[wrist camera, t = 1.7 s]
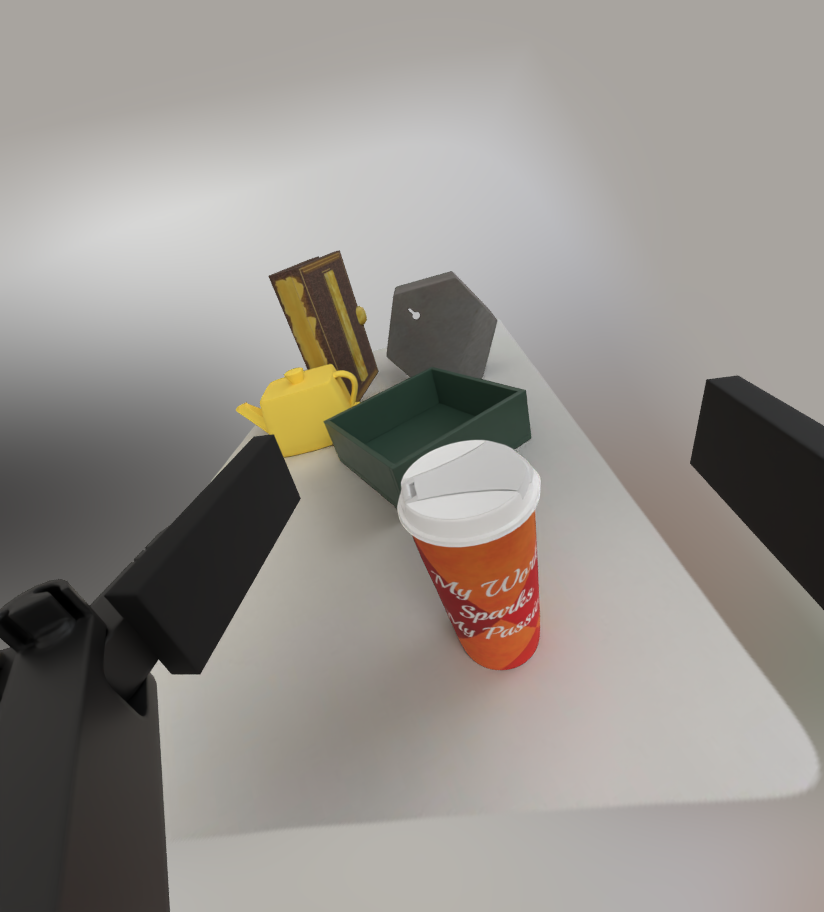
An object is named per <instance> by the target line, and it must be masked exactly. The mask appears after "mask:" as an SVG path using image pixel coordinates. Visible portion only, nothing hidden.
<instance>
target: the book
mask: <svg viewBox="0 0 824 912" xmlns="http://www.w3.org/2000/svg"><path fill="white" fill-rule="evenodd" d="M269 278H270V281H271V283H272V286H273V288H274V290H275V293H276V295H277V298H278V300H279V302H280V305H281V307H282V309H283V312H284V314H285V316H286V319H287V321H288V324H289V326H290V328H291V331H292V333H293V336H294V338H295V340H296V343H297V345H298V348H299V350H300V352H301V354H302V357H303V360H304V362H305V364H306V367H307V369H308V370H310V369H313V368H317V367H320V366H324V365H329V364H332V365H333V366H334V367H335V369H336V371H340V370H343V371H348V372H350V373H352V374H353V375H354V376H355V377H356V379H357V383H358V390H357V396H356V401H355V402H359V401H360V400H361V398H362V396H363V395H364V393H365V392H366V390H367V389H368V387H369V385H370V384H371V382H372V381H373V379H374V378H375V376H376V374H377V373H378V369H377V365H376V362H375V359H374V356H373V353H372V350H371V347H370V344H369V341H368V337H367V334H366V331H365V328H364V325H363V324H365V322H366V320H367V319H366V318H367V317H366V313H365V311H364V309H363V308H362V307H360V306H357V303H356V300H355V297H354V294H353V291H352V288H351V285H350V281H349V278H348V275H347V272H346V269H345V266H344V263H343V259H342V257H341V253H340V251H336V252H332V253H330V254H327V255H325V256H322V257H320V258H319V257H315V258H312V259H309V260H307V261H304V262H302V263H299V264H297V265H294V266H292V267H290V268H287V269H284V270H282V271H280V272H277V273H275V274H272V275H269ZM341 379H342V380H343V382H344V384H345V386H346V388H347V390H348V392H349V394H350V396H351V392H352V383H351V381H350V379H348V378H345V377H341Z"/></svg>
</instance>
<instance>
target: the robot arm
mask: <svg viewBox="0 0 824 912" xmlns="http://www.w3.org/2000/svg"><path fill="white" fill-rule="evenodd" d="M690 464H691V465H692V466H693V467H694V468H695V469H696V470H697V471H698V472H699V474H700V475H701V476H702V477H703V478H704V479H705V480H706V481H707V482H708V484H709V485H710V486H711V487H712V488H713V489H714V490H715V491H716V492H717V493H718V495H719V496H720V497H721V498H722V499H723V500H724V501H725V502H726V503H727V504H728V505H729V507H730V508H731V509H732V510H733V511H734V512H735V513H736V514H737V515H738V517H739V518H741V520H742V521H743V522H744V523H745V524H746V525H747V526H748V527H749V529H750V530H751V531H752V532H753V533H754V534H755V535H756V536H757V537H758V538H759V539H760V541H761V542H762V543H763V544H764V545H765V546H766V547H767V548H768V549H769V551H770V552H771V553H772V554H773V555H774V556H775V557H776V558H777V559H778V560H779V561H780V563H781V564H782V565H783V566H784V567H785V568H786V569H787V570H788V571H789V572H790V573H791V575H792V576H793V577H794V578H795V579H796V580H797V581H798V582H799V583H800V584H801V586H803V588H804V589H805V590H806V591H807V592H808V593H809V594H810V595H811V597H812V598H813V599H814V600H815V601H816V602H817V603H818V604H819V605H820V606H821V607H822V609H823V610H824V426H823V425H821V424H820V423H818V422H816V421H815V420H813V419H811V418H810V417H808V416H806V415H804V414H803V413H801V412H799V411H798V410H796V409H794V408H793V407H791V406H789V405H787V404H786V403H784V402H782V401H781V400H779V399H777V398H775V397H774V396H772V395H770V394H769V393H767V392H765V391H763V390H761V389H760V388H758V387H757V386H755V385H753V384H752V383H750V382H748V381H746V380H745V379H743V378H741V377H740V376H731V377H723V378H715V379H707V380H706V385H705V390H704V395H703V400H702V405H701V410H700V415H699V420H698V426H697V431H696V436H695V441H694V446H693V451H692V456H691V461H690ZM300 499H301V498H300V496H299V493H298V491H297V489H296V486H295V484H294V481H293V479H292V476H291V474H290V472H289V469H288V467H287V464H286V462H285V460H284V457H283V455H282V452H281V450H280V448H279V445H278V443H277V440H276V438H275V436H274V434H272V435H264V436H256V437H253V438H252V439H251V440H250V441H249V442H248V443H247V444H246V446H245V447H244V448H243V449H242V450H241V451H240V452H239V453H238V454H237V455H236V456H235V457H234V458H233V459H232V460H231V461H230V463H229V464H228V465H227V466H226V467H225V468H224V469H223V470H222V471H221V472H220V473H219V474H218V475H217V476H216V477H215V478H214V479H213V481H212V482H211V483H210V484H209V485H208V486H207V487H206V488H205V489H204V490H203V491H202V492H201V493H200V494H199V496H197V498H196V499H195V500H194V501H193V502H192V503H191V504H190V505H189V506H188V507H187V508H186V509H185V510H184V511H183V512H182V514H181V515H180V516H179V517H178V518H177V519H176V520H175V521H174V522H173V523H172V524H171V525H170V526H168V527H167V528H166V529H164V530H163V531H162V532H160V533H159V534H158V535H157V536H156V537H155V538H154V539H153V540H152V541H151V542H150V543H149V544H148V545H147V546H146V549H145V550H143V551H142V552H141V553H140V554H139V555H138V556H137V557H136V558H135V559H134V562H131V563H130V564H129V565H128V566H127V567H126V568H125V569H124V570H123V571H122V572H121V574H120V575H119V576H118V577H117V578H116V579H115V580H114V581H113V582H112V583H111V584H110V585H109V586H108V587H107V588H106V589H105V590H104V592H102V594H100V595H99V597H98V598H97V599H96V600H95V601H94V602H93V603H92V604H91V605H90V606H89V605H88V604H87V603H86V602H85V600H84V599H83V598H82V597H81V596H80V595H79V594H78V593H77V592H76V591H75V589H74V588H73V587H72V586H71V585H70V584H69V583H68V582H67V581H65V580H62V579H58V580H51V581H47V582H45V583H42V584H40V585H37V586H34V587H33V588H31V589H29V590H27V591H25V592H23V593H21V594H20V595H18V596H17V597H15V598H14V599H13V600H11V601H10V602H8V603H7V604H5V605H4V606H3V607H2V608H1V609H0V638H1V639H2V640H3V641H4V642H6V643H7V644H8V645H9V646H10V648H7V649H3V650H0V912H170V906H169V888H168V871H167V853H166V836H165V819H164V802H163V785H162V767H161V750H160V733H159V716H158V699H157V683H156V681H155V678H154V676H153V675H152V674H151V673H150V671H151V670H152V668H153V667H154V665H155V664H156V662H157V661H158V659H159V660H160V661H161V663H162V664H163V665H164V666H165V667H166V668H167V669H168V671H169V672H170V673H171V674H201V672H202V670H203V668H204V667H205V665H206V663H207V662H208V660H209V658H210V656H211V655H212V653H213V651H214V649H215V648H216V646H217V644H218V642H219V641H220V639H221V637H222V635H223V634H224V632H225V630H226V628H227V627H228V625H229V623H230V621H231V620H232V618H233V616H234V614H235V613H236V611H237V609H238V607H239V606H240V604H241V602H242V600H243V599H244V597H245V595H246V593H247V592H248V590H249V588H250V586H251V585H252V583H253V581H254V579H255V578H256V576H257V574H258V572H259V571H260V569H261V567H262V565H263V564H264V562H265V560H266V558H267V557H268V555H269V553H270V551H271V550H272V548H273V546H274V544H275V543H276V541H277V539H278V537H279V536H280V534H281V532H282V530H283V529H284V527H285V525H286V523H287V522H288V520H289V518H290V516H291V515H292V513H293V511H294V509H295V508H296V506H297V504H298V502H299V501H300Z"/></svg>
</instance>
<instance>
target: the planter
mask: <svg viewBox="0 0 824 912" xmlns="http://www.w3.org/2000/svg"><path fill="white" fill-rule="evenodd" d="M409 308H410V309H412V310H413V311H414V312H419V313H420V317H419V319H417V320H416V319H413V317H412V315H413V314H412V313H411V312H409V310H408V309H409ZM496 324H497V319H496V318H495V316H494V315H493V314H492V313H491V311H490V310H489V309H488V308H487V307H486V306H485V305H484V304H483V303H482V302H481V301H480V300H479V298H478V297H477V296H476V295H475V294H474V293H473V292H472V291H471V290H470V289H469V288H468V287H467V286H466V285H465V284H464V283H463V282H462V281H461V280H460V279H459V278H458V277H457V276H456V275H455V274H454V273H453V272H452V271H450V272H447V273H443V274H440V275H436V276H433V277H429V278H426V279H422V280H419V281H415V282H412V283H408V284H404V285H401V286H398V287H396V288H395V291H394V296H393V304H392V313H391V321H390V330H389V338H388V347H387V358H389V359H390V360H391V361H392V362H393V363H394V364H396V365H397V366H398V367H399V368H400V369H401V370H403V371H404V372H405V373H406V374H407V375H409V376H410V377H413V376H415V375H417V374H419V373H421V372H423V371H425V370H427V369H429V368H431V367H435V368H439V369H443V370H447V371H451V372H455V373H459V374H463V375H467V376H471V377H475V378H479V379H481V378H482V377H483V374H484V371H485V367H486V363H487V359H488V355H489V351H490V348H491V344H492V340H493V336H494V332H495V328H496Z"/></svg>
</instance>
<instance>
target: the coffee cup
mask: <svg viewBox="0 0 824 912" xmlns="http://www.w3.org/2000/svg"><path fill="white" fill-rule="evenodd" d="M540 484H541V478H540V477H539V475H538V473H537V472H536V471H535V469H534V468H533V467H532V466H531V464H530V463H529V462H528V460H527V459H525V458H524V457H523V456H521V455H519V454H518V453H517V452H516V451H515V450H513V449H512V448H510V447H508V446H506V445H503V444H499V443H496V442H491V441H487V440H469V441H462V442H456V443H452V444H448V445H445V446H442V447H440V448H437V449H435V450H433V451H431V452H429V453H427V454H425V455H424V456H422V457H421V458H419V459H418V460H417V461H416V462H414V463H413V464H412V465H411V466H410V467H409V469H408V470H407V471H406V473H405V474H404V476H403V478H402V481H401V488H402V489H401V494H400V496H399V500H398V505H397V511H398V516H399V520H400V522H401V524H402V525H403V527H404V528H405V529H406V530H407V531H408V532H409V533H410V534H411V535H412V536H413V539H414V541H415V543H416V546H417V548H418V551H419V553H420V556H421V558H422V560H423V562H424V564H425V566H426V568H427V571H428V573H429V575H430V577H431V579H432V581H433V583H434V585H435V587H436V589H437V592H438V594H439V596H440V598H441V601H442V603H443V605H444V607H445V610H446V612H447V614H448V616H449V619H450V621H451V623H452V625H453V627H454V630H455V632H456V634H457V636H458V638H459V640H460V642H461V644H462V646H463V648H464V649H465V651H466V652H467V654H468V655H469V656H470V657H471V658H472V659H473V660H474V661H475V662H476V663H478V664H480V665H481V666H484V667H486V668H489V669H494V670H508V669H512V668H516V667H518V666H520V665H522V664H523V663H525V662H526V661H527V660H528V659H529V658H530V657H531V656H532V655H533V654H534V652H535V650H536V648H537V646H538V642H539V637H540V608H539V584H538V562H537V542H536V521H535V508H536V506H537V505H538V502H539V498H540Z"/></svg>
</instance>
